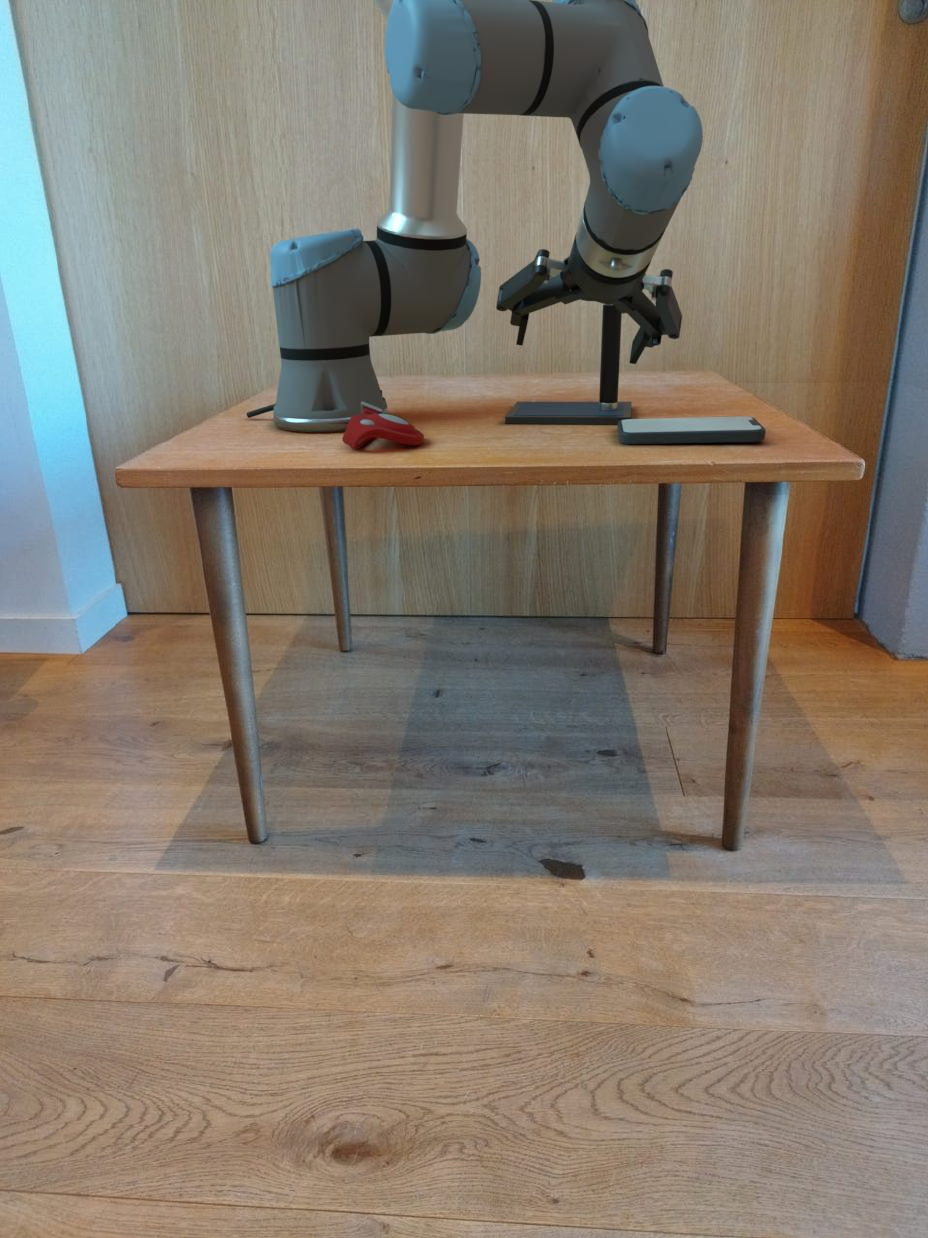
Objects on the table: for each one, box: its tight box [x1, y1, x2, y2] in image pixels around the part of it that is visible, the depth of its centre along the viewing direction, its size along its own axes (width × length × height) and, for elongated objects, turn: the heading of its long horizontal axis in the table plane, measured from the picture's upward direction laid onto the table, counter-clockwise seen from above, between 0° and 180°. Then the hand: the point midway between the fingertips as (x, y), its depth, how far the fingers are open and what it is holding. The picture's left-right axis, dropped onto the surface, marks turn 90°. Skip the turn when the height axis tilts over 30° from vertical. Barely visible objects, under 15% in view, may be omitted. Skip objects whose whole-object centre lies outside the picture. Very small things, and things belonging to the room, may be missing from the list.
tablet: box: [504, 400, 632, 426], centre depth 110 cm, size 16×12×1 cm
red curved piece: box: [341, 402, 425, 450], centre depth 97 cm, size 12×4×10 cm
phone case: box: [616, 415, 767, 445], centre depth 95 cm, size 9×2×16 cm
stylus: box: [598, 304, 623, 411], centre depth 105 cm, size 2×2×13 cm
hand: (577, 343), depth 97 cm, fingers open, 13 cm apart
